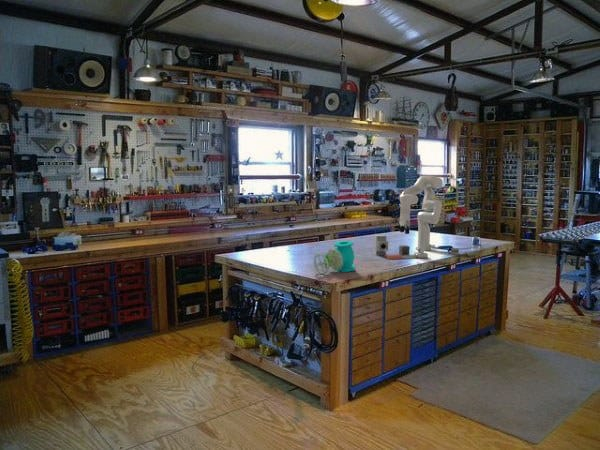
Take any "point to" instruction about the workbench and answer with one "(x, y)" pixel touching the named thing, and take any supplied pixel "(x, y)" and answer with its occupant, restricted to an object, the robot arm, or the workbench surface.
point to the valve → (337, 258)
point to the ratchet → (416, 255)
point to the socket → (404, 250)
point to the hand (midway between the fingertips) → (404, 233)
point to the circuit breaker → (380, 245)
